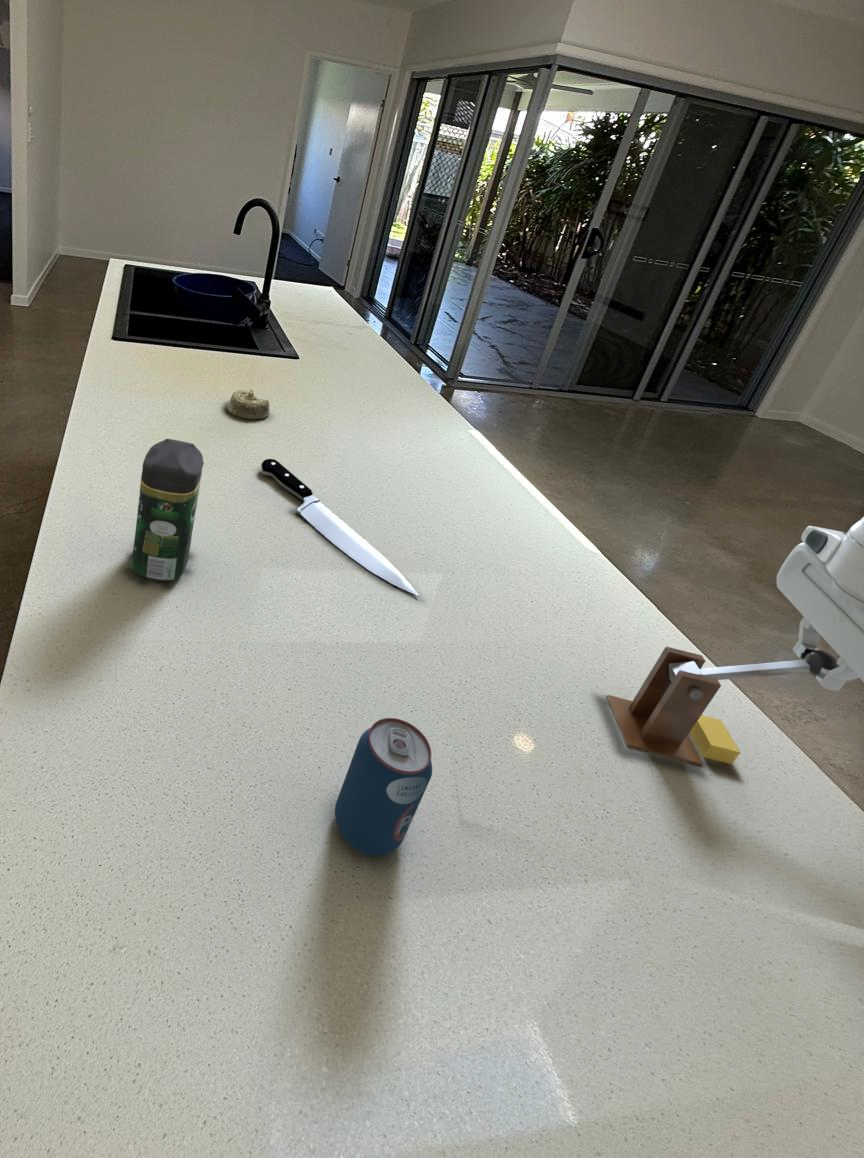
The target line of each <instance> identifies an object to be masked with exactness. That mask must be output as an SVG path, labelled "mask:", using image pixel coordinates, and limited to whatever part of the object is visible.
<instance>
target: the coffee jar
mask: <svg viewBox="0 0 864 1158" xmlns="http://www.w3.org/2000/svg"><path fill="white" fill-rule="evenodd" d="M204 465H205V462H204V456H203V454H202V452H201V451H200V450H199V448H198V447H196V445H195V444H194V443H191V442H188V441H183V440H178V439H172V438H166V439H164V440H161V441H158V442H157V443H155V444H153V445H151V447H150V448H149V450H148V451H147V453H146V454H145V457H144V459H143V462H142V469H141V474H140V486H139V496H138V506H137V513H136V523H135V533H134V540H133V548H132V556H131V563H130V564H131V569H132V570H133V572H134V573H135V574H137V575H138V576H140V577H142V578H144V579H147V580H149V581H153V582H159V583H160V582H162V583H163V582H173V581H176V580H178V579H180V578H181V577H182V576H183V574H184V572H185V570H186V568H187V565H188V562H189V557H190V550H191V543H192V538H193V537H192V536H193V530H194V524H195V517H196V511H197V507H198V499H199V494H200V493H199V492H200V487H201V480H202V476H203V475H202V473H203V467H204Z"/></svg>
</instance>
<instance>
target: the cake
mask: <svg viewBox="0 0 864 1158" xmlns="http://www.w3.org/2000/svg"><path fill="white" fill-rule="evenodd" d="M270 407H271V406H270V400H269V399H268V398H264V397H262V398H257V396H256V395H255V393H254V390H253V389H251V390H249V389H237V390H236V391H233V393H232V395H231V397H230V400H229V403H228V404H227V405H226V409H227V411H228V412H229V413H230V414H232V415H234V416H235V417H238V418H241V419H247V420H261V419H264V418H267V417H269V416H270V413H271V411H270V410H271V408H270Z"/></svg>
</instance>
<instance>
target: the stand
mask: <svg viewBox="0 0 864 1158" xmlns="http://www.w3.org/2000/svg"><path fill="white" fill-rule="evenodd" d="M691 661H695V663H696V665H697V666H698V668H699V669H702V668H703V666H704V664H705V663H706V659H705V658H704V656H703V654H698V653H694V652H690V651H686V650H681V649H678V648H674V647H670V646H665V647H664V649H663V650H662V652H661V653H660V655H659V656H658V659H657V660H656V661H655V664H654V665H653V667H652V669H650V671H649V674H648V675H647V677H646V678H645V680H644V682H643V683H642V685H641V687H640V688H639V690H638V692H637V693H636V695H635V696H634V698H633V700H629V699H626V698H621V697H617V696H614V695H611V694H606V695H605V698H606V700H607V702H608V705H609V708H610V709H611V712H612V714H613V717H614V719H615V721H616V724H617V726H618V728H619V732H620V734H621V736H622V738H623V741H624V743H625V746H626V747H628V748H632V749H637V750H641V751H644V752H648V753H651V754H655V755H660V756H663V757H667V758H671V759H674V760H679V761H683V762H687V763H690V764H694V765H699V766H703V765H704V762H703V761H702V759H701V757H700V755H699V754H698V751H697V750H696V747H695V746H694V744H693V741H692V740H691V738H690V736H689V734H690V731H691V729H692V728H693V726H694V725H695V724H696V722H697V721H698V719H699V718H700V716H701V715H703V713H704V712H705V710H706V709H707V707H708V706H709V704H710V703H711V701H712V700H713V699H714V697H715V696H716V694H717V693H718V691H719V690H720V688H721V687H722V684H721V683H720V680H717V679H713V678H709V677H705V676H701V675H697V674H693V673H689V672H685V671H681V670H679V672H678V673H677V675H676V676H675V678H674V679H673V681H672V682H671V680H670V676H669V663H680V662H691Z"/></svg>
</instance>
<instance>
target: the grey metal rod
mask: <svg viewBox="0 0 864 1158" xmlns="http://www.w3.org/2000/svg"><path fill="white" fill-rule="evenodd" d="M838 659H839V658H837V656H836V655H834V654H832V653H830V652H829V651H826V650H821V649H820V650H815V651H811V652H809V653H808V654H807V655H806V656H805V658H804V660H800V659H796V660H785V661H773V662H763V663H750V664H749V663H748V664H739V665H728V666H715V667H705V668H703V667H702V668H701V669H699V668H698V666H697V665H696V663H695V661H691V662H680V663H669V676H670V680H671V682H672V681H673V679H674V678H675V676H676V675H677V673H678V672H679V670H681V671H685V672H689V673H693V674H697V675H701V676H705V677H709V678H713V679H717V680H718V681H725V680H736V679H737V680H738V679H748V678H758V677H759V678H761V677H771V676H772V677H773V676H774V677H775V676H785V675H798V674H808V673H809V675H811V676H812V677H814V678H816V675H817V674H819V671H820V670H821V668H822V667H823V668H828V669H830V670H833V669H835V668H838V667H839V665H838V664H837V661H838Z"/></svg>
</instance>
